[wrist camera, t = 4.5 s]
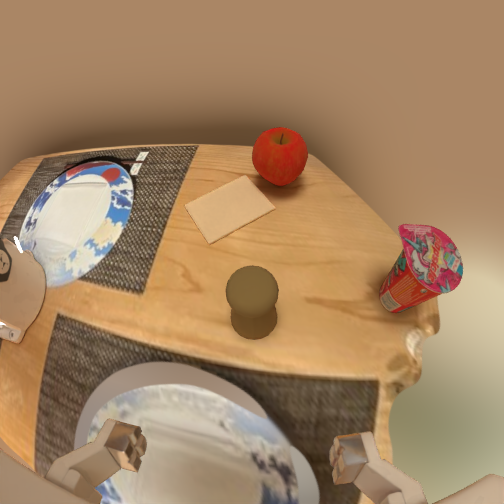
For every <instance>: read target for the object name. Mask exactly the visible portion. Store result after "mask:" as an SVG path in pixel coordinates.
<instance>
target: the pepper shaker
mask: <svg viewBox="0 0 504 504" xmlns="http://www.w3.org/2000/svg"><path fill="white" fill-rule="evenodd" d="M278 291H279V289H278V285H277V282H276V280H275V278H274V277H273V275H272V274H271V273H270V272H269V271H267V270H266V269H264V268H262V267H259V266H246V267H243V268H241V269H238V270H237V271H236V272H235V273H233V274H232V275H231V277H230V279H229V280H228V282H227V286H226V298H227V301H228V303H229V305H230V307H231V308H232V311H231V322H232V325H233V327H234V329H235V331H236V332H237V333H238V334H239V335H241V336H243V337H245V338H247V339H254V340H255V339H261V338H263V337H265V336H267V335H269V334H270V333H271V332H272V331H273V329H274V327H275V325H276V323H277V313H276V308H275V303H276V301H277V299H278Z"/></svg>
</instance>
